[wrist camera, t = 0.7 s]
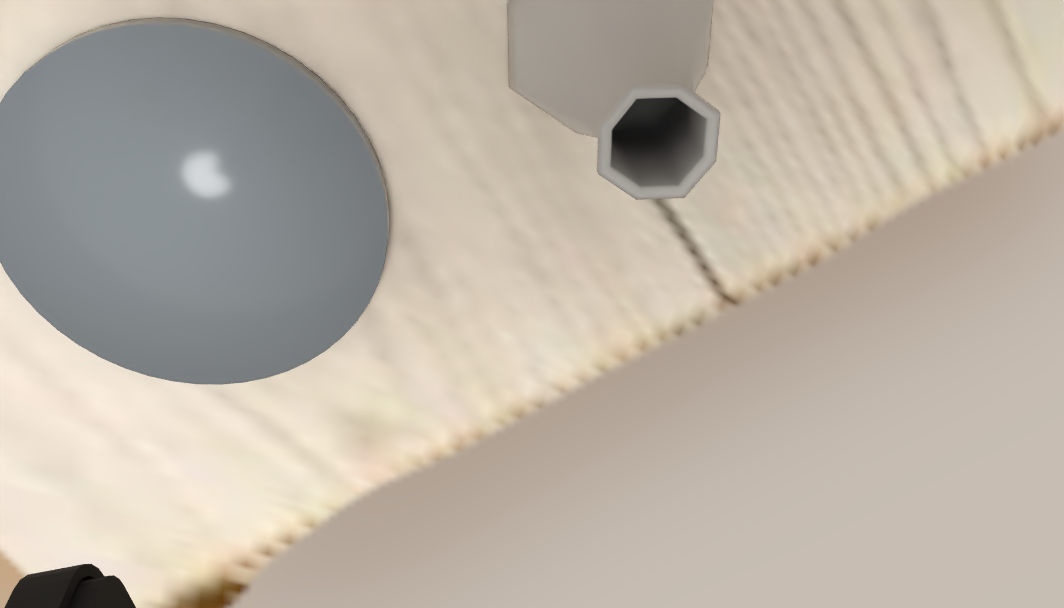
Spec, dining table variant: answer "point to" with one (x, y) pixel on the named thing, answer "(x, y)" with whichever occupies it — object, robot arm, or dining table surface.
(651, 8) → the flask
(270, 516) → the dining table surface
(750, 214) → the dining table surface
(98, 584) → the robot arm
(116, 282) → the slate dish
